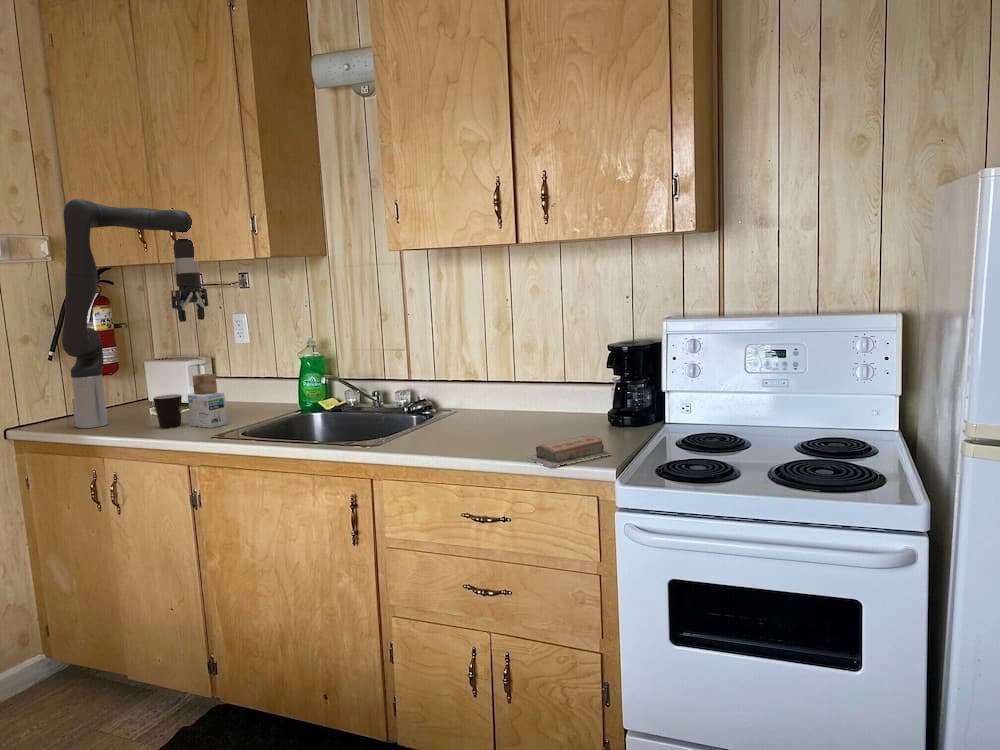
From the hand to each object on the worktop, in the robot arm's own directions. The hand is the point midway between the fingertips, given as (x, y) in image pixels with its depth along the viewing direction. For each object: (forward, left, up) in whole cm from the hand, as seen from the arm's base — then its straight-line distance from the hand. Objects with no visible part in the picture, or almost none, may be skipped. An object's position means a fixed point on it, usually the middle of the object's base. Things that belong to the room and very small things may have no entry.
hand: (192, 320), depth 256 cm
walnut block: (+9, -7, -23) cm, 26 cm away
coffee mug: (-4, -9, -34) cm, 36 cm away
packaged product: (+137, -30, -35) cm, 144 cm away
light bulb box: (+9, -7, -34) cm, 36 cm away
